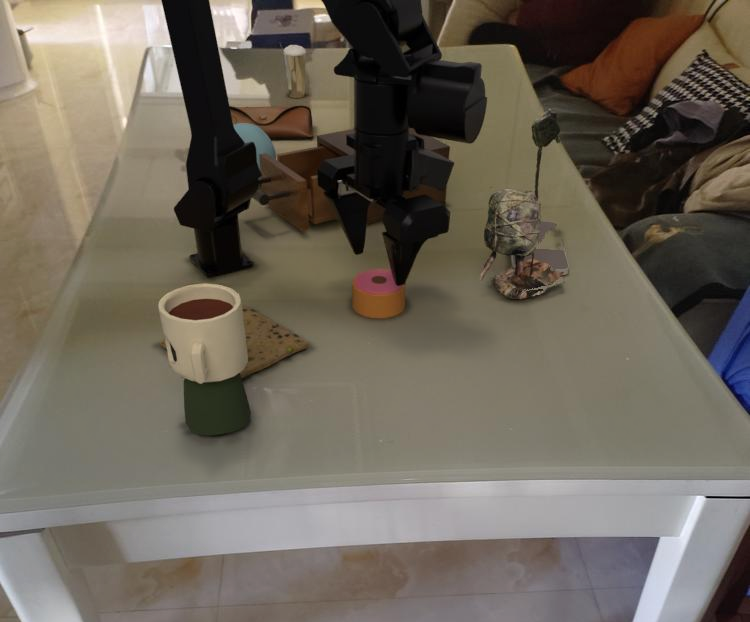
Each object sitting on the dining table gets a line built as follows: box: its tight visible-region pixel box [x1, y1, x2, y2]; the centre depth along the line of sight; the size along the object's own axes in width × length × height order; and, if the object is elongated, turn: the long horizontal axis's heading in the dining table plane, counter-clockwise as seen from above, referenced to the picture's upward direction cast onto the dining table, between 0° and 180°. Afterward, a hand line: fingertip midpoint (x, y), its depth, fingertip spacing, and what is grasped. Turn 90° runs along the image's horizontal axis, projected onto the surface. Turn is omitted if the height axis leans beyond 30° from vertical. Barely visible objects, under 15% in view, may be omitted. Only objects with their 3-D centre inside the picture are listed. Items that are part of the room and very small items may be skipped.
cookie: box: [159, 305, 309, 379], centre depth 83 cm, size 12×12×1 cm
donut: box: [351, 268, 407, 319], centre depth 90 cm, size 6×6×3 cm
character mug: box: [158, 282, 252, 436], centre depth 69 cm, size 11×7×13 cm, turn 3°
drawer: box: [251, 146, 342, 232], centre depth 108 cm, size 18×12×7 cm
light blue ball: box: [233, 123, 277, 186], centre depth 117 cm, size 7×9×12 cm
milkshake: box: [278, 41, 307, 99], centre depth 152 cm, size 4×5×10 cm
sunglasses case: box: [229, 104, 314, 141], centre depth 137 cm, size 18×7×7 cm
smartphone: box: [509, 220, 570, 276], centre depth 103 cm, size 7×1×15 cm
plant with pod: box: [478, 108, 564, 300], centre depth 88 cm, size 8×11×20 cm
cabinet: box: [316, 128, 451, 225], centre depth 113 cm, size 15×14×9 cm
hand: (378, 268), depth 88 cm, fingers open, 9 cm apart
